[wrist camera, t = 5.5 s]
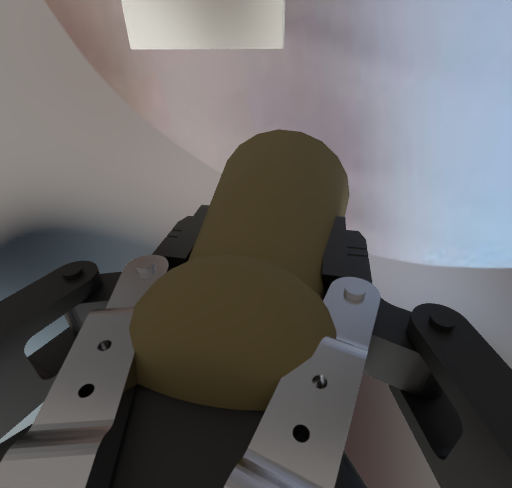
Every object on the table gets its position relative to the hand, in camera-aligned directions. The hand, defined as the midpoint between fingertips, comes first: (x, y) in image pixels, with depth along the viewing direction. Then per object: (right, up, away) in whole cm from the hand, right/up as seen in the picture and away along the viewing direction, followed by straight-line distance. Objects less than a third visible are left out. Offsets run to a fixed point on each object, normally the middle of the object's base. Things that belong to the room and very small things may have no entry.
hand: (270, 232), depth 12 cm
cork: (+1, +2, +3) cm, 4 cm away
